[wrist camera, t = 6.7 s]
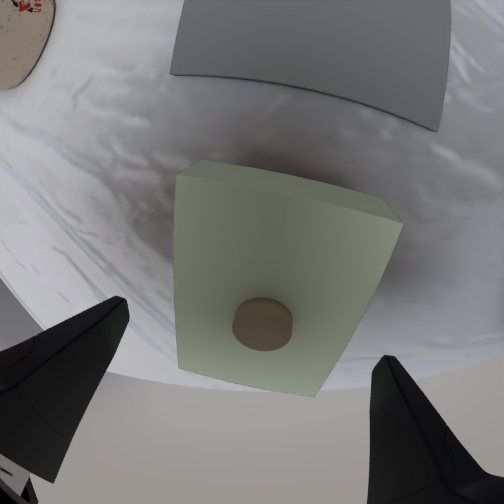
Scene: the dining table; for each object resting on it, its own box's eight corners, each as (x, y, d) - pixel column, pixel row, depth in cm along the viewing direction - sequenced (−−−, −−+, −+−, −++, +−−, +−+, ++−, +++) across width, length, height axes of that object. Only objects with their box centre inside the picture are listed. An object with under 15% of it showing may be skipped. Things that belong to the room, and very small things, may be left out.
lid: (381, 198, 9) (410, 232, 6) (314, 360, 13) (314, 407, 11) (203, 159, 9) (166, 179, 7) (193, 334, 14) (174, 377, 11)
